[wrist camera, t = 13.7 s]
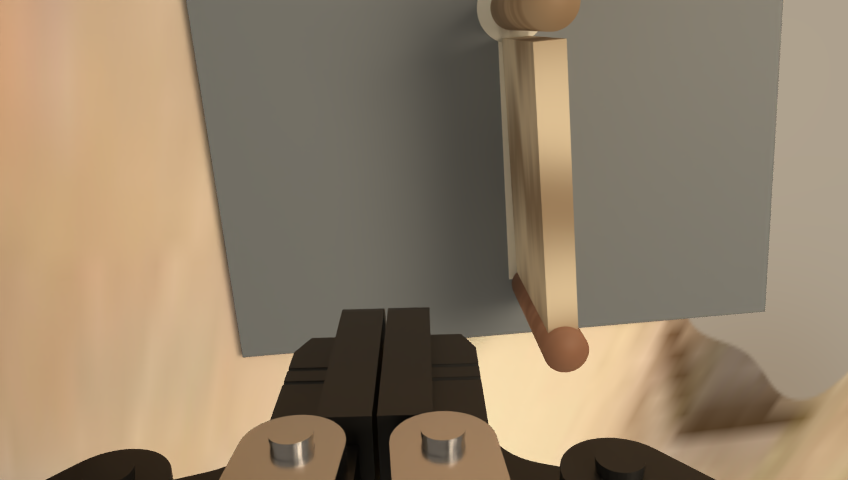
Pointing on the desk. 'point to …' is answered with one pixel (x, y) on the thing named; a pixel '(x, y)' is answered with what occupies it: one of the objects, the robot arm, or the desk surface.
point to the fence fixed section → (534, 14)
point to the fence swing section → (543, 195)
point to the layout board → (483, 160)
